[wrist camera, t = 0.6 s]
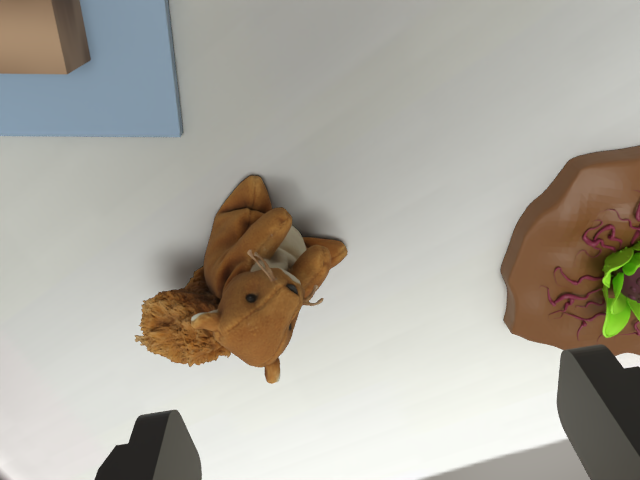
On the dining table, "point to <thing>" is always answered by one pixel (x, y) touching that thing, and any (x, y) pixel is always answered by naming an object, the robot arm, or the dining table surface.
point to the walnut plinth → (42, 37)
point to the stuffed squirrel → (242, 287)
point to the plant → (579, 257)
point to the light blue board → (104, 80)
